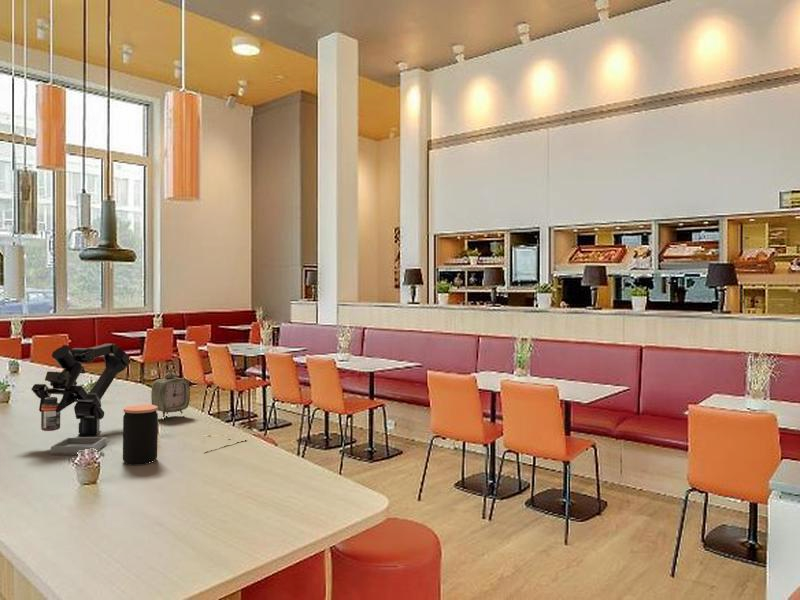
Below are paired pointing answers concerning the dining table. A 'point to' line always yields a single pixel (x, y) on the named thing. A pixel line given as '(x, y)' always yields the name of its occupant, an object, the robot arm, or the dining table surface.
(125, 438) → the coffee jar
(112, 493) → the dining table surface
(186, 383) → the tabletop clock
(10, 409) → the dining table surface
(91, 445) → the tray
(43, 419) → the supplement bottle
